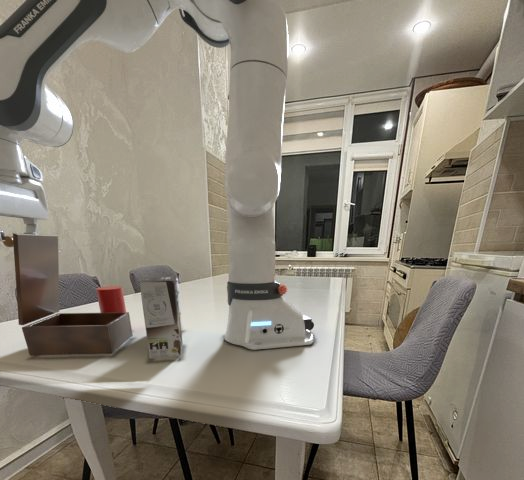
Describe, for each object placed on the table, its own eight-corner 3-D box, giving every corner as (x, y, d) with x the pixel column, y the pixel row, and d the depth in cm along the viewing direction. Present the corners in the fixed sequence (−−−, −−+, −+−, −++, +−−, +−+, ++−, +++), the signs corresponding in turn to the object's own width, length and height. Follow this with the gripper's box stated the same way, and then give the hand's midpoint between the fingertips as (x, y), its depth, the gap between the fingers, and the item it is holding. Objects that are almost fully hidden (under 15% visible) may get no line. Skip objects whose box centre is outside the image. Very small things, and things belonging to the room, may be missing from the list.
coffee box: (182, 359, 60) (174, 280, 54) (149, 362, 59) (137, 281, 53) (183, 345, 68) (177, 275, 63) (155, 347, 67) (145, 276, 62)
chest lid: (58, 235, 64) (32, 230, 63) (17, 234, 52) (-16, 227, 52) (59, 311, 70) (35, 307, 69) (22, 325, 58) (-7, 320, 57)
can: (132, 329, 81) (125, 286, 77) (124, 336, 75) (116, 289, 71) (110, 330, 80) (102, 286, 76) (100, 336, 75) (91, 289, 71)
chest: (133, 338, 73) (129, 312, 71) (112, 356, 62) (106, 325, 59) (64, 339, 72) (58, 313, 70) (30, 358, 60) (21, 327, 58)
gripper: (-37, 144, 44) (-8, 241, 49) (47, 174, 63) (61, 241, 68) (-82, 142, 44) (-49, 240, 48) (16, 173, 63) (33, 241, 68)
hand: (16, 241), depth 58 cm, fingers open, 8 cm apart
